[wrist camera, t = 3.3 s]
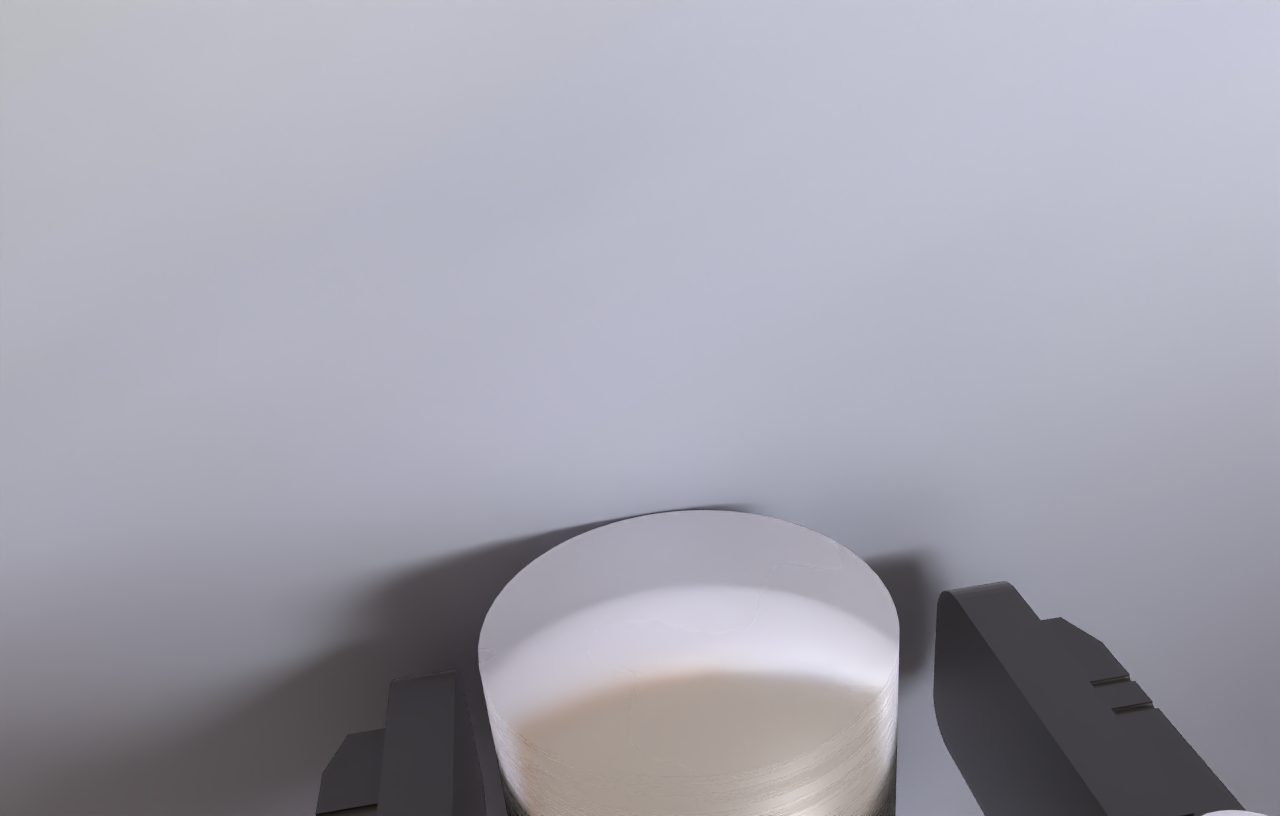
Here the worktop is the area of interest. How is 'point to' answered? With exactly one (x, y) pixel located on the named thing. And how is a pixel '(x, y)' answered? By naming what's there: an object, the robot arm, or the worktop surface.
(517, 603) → the silver cosmetic tube
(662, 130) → the worktop surface
